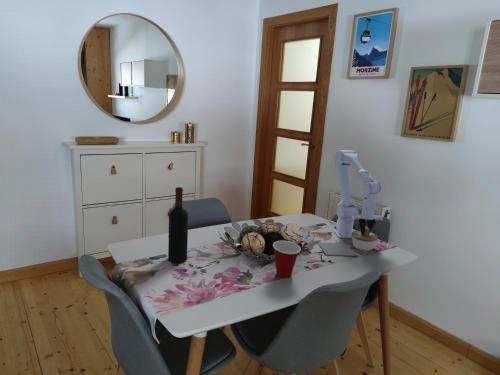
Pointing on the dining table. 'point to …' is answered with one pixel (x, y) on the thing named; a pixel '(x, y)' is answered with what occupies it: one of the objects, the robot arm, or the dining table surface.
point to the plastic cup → (285, 257)
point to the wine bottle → (178, 230)
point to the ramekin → (363, 244)
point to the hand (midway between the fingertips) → (364, 234)
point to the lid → (366, 235)
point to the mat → (336, 249)
